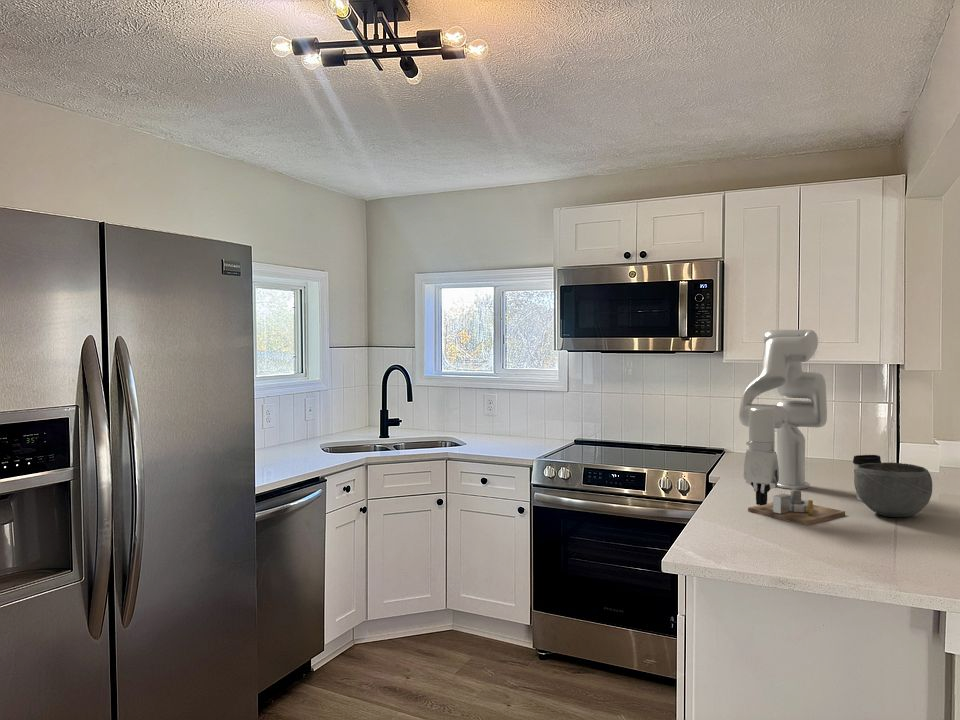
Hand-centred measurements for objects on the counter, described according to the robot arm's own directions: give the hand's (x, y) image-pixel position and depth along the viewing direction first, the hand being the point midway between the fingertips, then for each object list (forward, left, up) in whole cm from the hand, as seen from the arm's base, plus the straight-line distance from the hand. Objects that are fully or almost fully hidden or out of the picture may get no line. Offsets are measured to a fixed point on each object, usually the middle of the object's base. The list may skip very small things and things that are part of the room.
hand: (761, 504), depth 223 cm
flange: (+7, +4, -1) cm, 9 cm away
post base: (+7, +7, -2) cm, 10 cm away
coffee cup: (+10, +42, -3) cm, 43 cm away
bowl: (+25, +29, -3) cm, 39 cm away
